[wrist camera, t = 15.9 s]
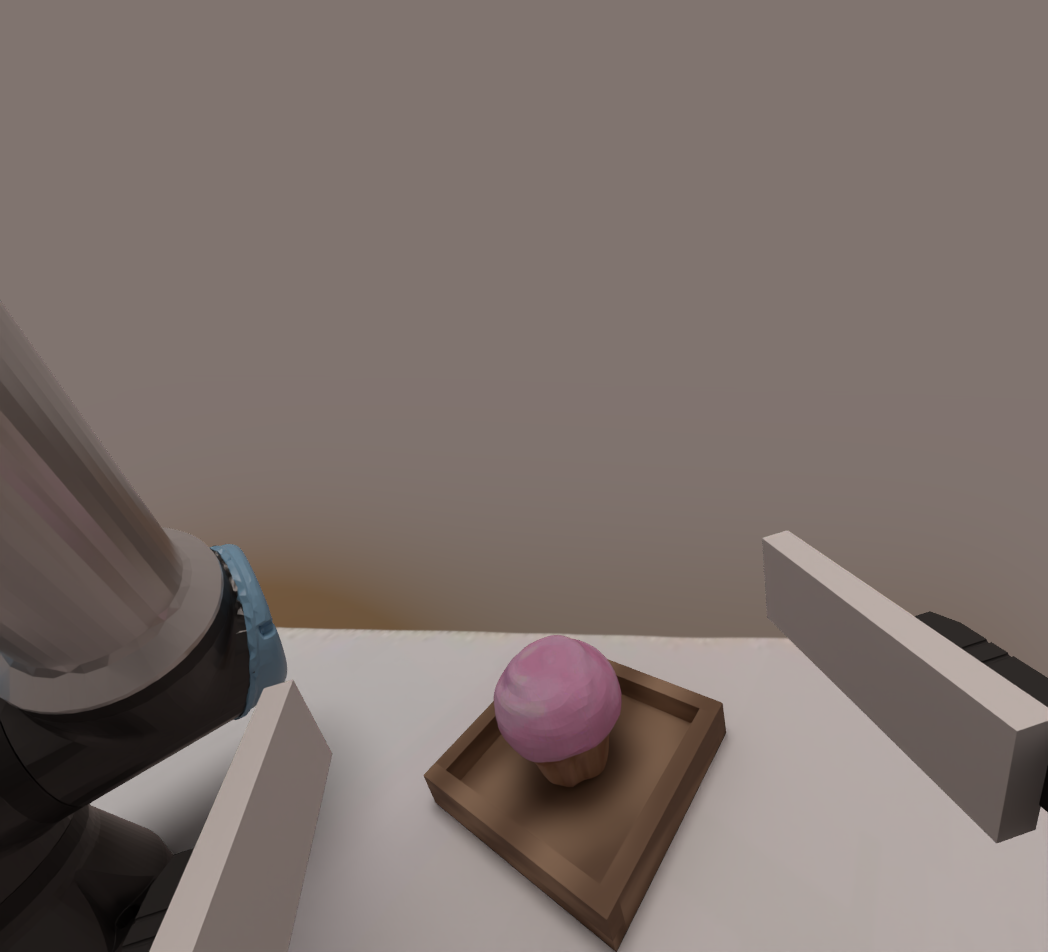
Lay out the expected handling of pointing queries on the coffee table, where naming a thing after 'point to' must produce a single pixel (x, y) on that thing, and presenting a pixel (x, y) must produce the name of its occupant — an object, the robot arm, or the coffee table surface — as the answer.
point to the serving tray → (588, 800)
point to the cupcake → (559, 708)
